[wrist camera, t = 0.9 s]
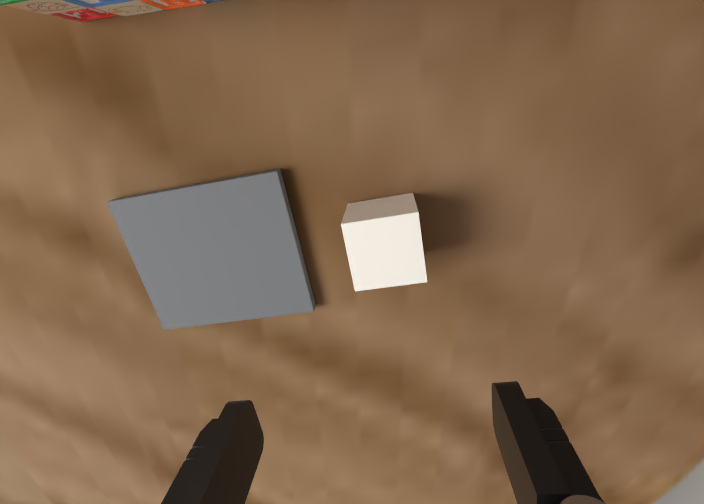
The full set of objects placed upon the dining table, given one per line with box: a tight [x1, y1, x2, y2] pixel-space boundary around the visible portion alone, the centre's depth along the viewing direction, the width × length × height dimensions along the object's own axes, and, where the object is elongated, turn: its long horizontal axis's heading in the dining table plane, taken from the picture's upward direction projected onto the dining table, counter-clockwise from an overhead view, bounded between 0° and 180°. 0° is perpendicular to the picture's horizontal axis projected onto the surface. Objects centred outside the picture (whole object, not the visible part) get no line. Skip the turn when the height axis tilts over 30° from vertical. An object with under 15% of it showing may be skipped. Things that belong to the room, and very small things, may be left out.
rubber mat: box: [107, 169, 316, 330], centre depth 31 cm, size 14×12×1 cm
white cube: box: [341, 193, 427, 291], centre depth 27 cm, size 5×5×5 cm
